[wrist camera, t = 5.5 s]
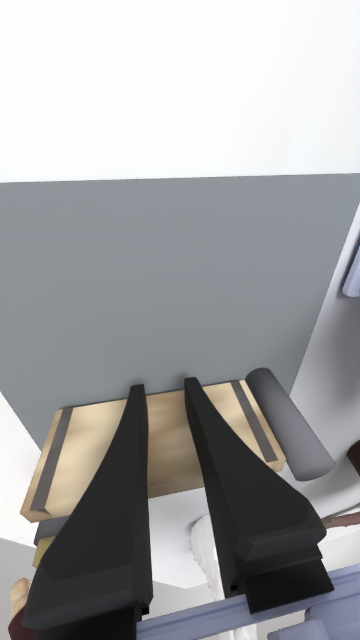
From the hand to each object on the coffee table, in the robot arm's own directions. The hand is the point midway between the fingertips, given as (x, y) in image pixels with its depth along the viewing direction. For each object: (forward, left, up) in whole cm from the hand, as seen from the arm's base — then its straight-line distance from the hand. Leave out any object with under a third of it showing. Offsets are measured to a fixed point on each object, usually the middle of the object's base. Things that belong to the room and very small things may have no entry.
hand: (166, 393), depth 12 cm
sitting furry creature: (-6, +30, -3) cm, 31 cm away
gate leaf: (+1, +2, -1) cm, 3 cm away
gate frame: (0, -1, -2) cm, 3 cm away
